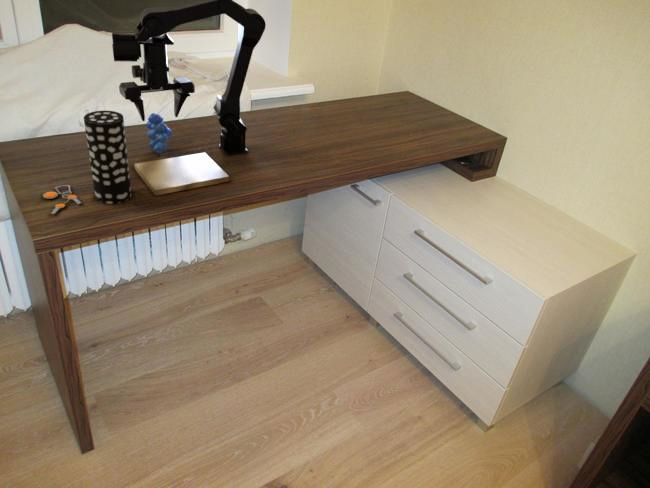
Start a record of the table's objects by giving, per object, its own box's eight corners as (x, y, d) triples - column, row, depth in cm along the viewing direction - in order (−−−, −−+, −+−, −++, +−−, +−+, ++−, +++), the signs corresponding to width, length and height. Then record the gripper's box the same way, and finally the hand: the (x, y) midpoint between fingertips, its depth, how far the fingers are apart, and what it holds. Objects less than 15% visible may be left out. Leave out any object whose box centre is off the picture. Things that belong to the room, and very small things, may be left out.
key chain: (40, 190, 131) (40, 187, 131) (73, 185, 135) (73, 182, 134) (49, 215, 122) (49, 212, 122) (84, 209, 126) (83, 206, 125)
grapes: (181, 159, 153) (179, 118, 146) (157, 163, 150) (154, 121, 143) (165, 143, 161) (163, 103, 154) (143, 146, 157) (139, 106, 151)
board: (204, 157, 156) (204, 152, 155) (229, 181, 145) (229, 176, 144) (134, 168, 145) (134, 163, 145) (155, 195, 135) (155, 190, 134)
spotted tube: (100, 186, 136) (89, 109, 125) (134, 188, 137) (127, 111, 126) (91, 203, 129) (78, 123, 118) (127, 204, 130) (118, 125, 119)
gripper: (178, 50, 151) (181, 105, 160) (109, 54, 141) (116, 112, 150) (194, 62, 144) (196, 118, 152) (123, 67, 134) (129, 127, 143)
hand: (159, 118), depth 150 cm, fingers open, 9 cm apart
